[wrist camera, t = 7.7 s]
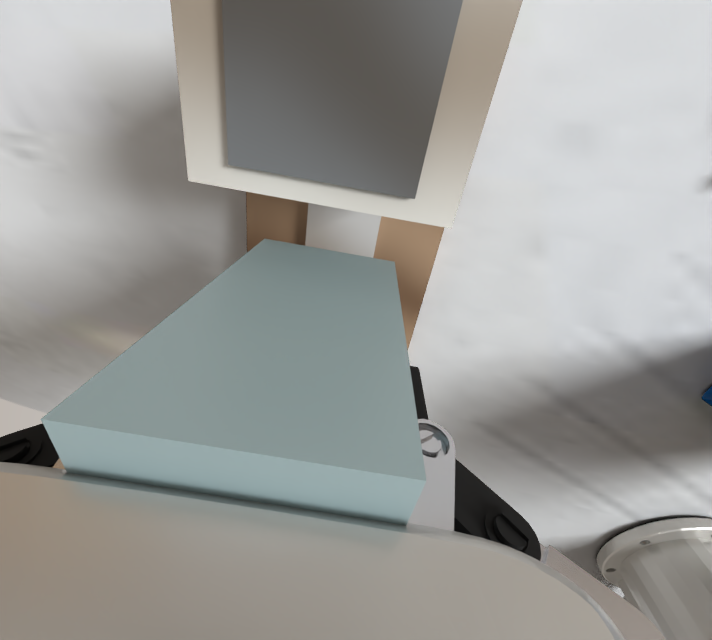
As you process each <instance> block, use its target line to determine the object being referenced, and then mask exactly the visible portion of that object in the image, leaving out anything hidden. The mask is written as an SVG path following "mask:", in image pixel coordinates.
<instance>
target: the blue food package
mask: <svg viewBox="0 0 712 640" xmlns="http://www.w3.org/2000/svg"><path fill="white" fill-rule="evenodd" d="M702 399H703V400H704V401H705V402H707V403H708V404H709V405H710V406H712V386H711V387H710V388H709V389H708V390H707V391H706V392H705V393H704V395H703V396H702Z"/></svg>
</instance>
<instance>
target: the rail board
mask: <svg viewBox="0 0 712 640" xmlns="http://www.w3.org/2000/svg"><path fill="white" fill-rule="evenodd" d="M522 1H523V0H170V2H171V12H172V22H173V32H174V42H175V52H176V62H177V73H178V83H179V93H180V103H181V113H182V123H183V133H184V143H185V154H186V164H187V174H188V181H191V182H196V183H202V184H207V185H213V186H218V187H224V188H229V189H235V190H240V191H246V213H247V252H249V251H250V250H251V249H252V248H254V247H255V246H256V245H257V244H259V243H260V242H261V241H262V240H264V239H270V240H275V241H281V242H287V243H292V244H298V245H303V246H309V247H315V248H320V249H326V250H331V251H337V252H343V253H348V254H354V255H359V256H365V257H371V258H376V259H382V260H388V261H393V262H395V268H396V275H397V281H398V288H399V295H400V302H401V309H402V316H403V323H404V330H405V336H406V343H407V350H408V347H409V344H410V341H411V337H412V334H413V331H414V327H415V324H416V321H417V317H418V314H419V311H420V307H421V304H422V301H423V297H424V294H425V291H426V287H427V284H428V281H429V277H430V274H431V271H432V267H433V264H434V261H435V257H436V254H437V251H438V247H439V244H440V241H441V237H442V234H443V231H444V228H450V229H452V226H453V222H454V219H455V216H456V213H457V210H458V206H459V203H460V200H461V197H462V194H463V190H464V187H465V184H466V181H467V177H468V174H469V171H470V168H471V165H472V161H473V158H474V155H475V152H476V149H477V145H478V142H479V139H480V136H481V133H482V129H483V126H484V123H485V120H486V116H487V113H488V110H489V107H490V104H491V100H492V97H493V94H494V91H495V88H496V84H497V81H498V78H499V75H500V72H501V68H502V65H503V62H504V59H505V55H506V52H507V49H508V46H509V43H510V39H511V36H512V33H513V30H514V27H515V23H516V20H517V17H518V14H519V11H520V7H521V4H522Z"/></svg>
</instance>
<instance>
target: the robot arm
mask: <svg viewBox="0 0 712 640" xmlns="http://www.w3.org/2000/svg"><path fill="white" fill-rule="evenodd" d="M410 371H411V378H412V385H413V391H414V398H415V405H416V412H417V419H418V426H419V433H420V440H421V447H422V453H423V460H424V467H425V474H426V483H425V485H424V488H423V490H422V492H421V494H420V496H419V499H418V501H417V503H416V505H415V507H414V510H413V512H412V514H411V516H410V518H409V521H408V523H407V525H400V524H394V523H388V522H381V521H375V520H369V519H363V518H356V517H350V516H344V515H338V514H332V513H325V512H319V511H313V510H306V509H300V508H293V507H287V506H280V505H274V504H268V503H261V502H255V501H248V500H242V499H236V498H229V497H223V496H216V495H210V494H204V493H197V492H191V491H184V490H178V489H172V488H165V487H159V486H152V485H146V484H139V483H133V482H126V481H119V480H113V479H106V478H100V477H93V476H86V475H80V474H73V473H67V472H66V470H65V468H64V466H63V464H62V462H61V459H60V457H59V455H58V453H57V451H56V449H55V447H54V445H53V443H52V441H51V439H50V437H49V435H48V433H47V431H46V429H45V427H44V425H43V424H39V425H36V426H33V427H30V428H27V429H24V430H20V431H17V432H14V433H11V434H8V435H5V436H3V437H0V640H712V519H709V518H696V517H692V518H674V519H666V520H660V521H656V522H651V523H647V524H644V525H640V526H637V527H634V528H632V529H629V530H627V531H625V532H623V533H621V534H619V535H617V536H615V537H614V538H612V539H611V540H610V541H608V542H607V543H606V544H605V545H604V546H603V547H602V548H601V549H600V551H599V553H598V555H597V564H598V567H599V569H600V571H601V573H602V575H603V576H604V578H605V579H606V580H607V581H608V582H610V583H611V584H613V585H615V586H617V587H619V588H621V590H622V592H623V593H624V595H625V596H624V597H623V598H622V597H621V596H619V595H618V594H616V593H615V592H614V591H612V590H611V589H610V588H608V587H607V586H605V585H604V584H603V583H601V582H600V581H599V580H597V579H596V578H595V577H593V576H592V575H590V574H589V573H588V572H586V571H585V570H584V569H582V568H581V567H580V566H578V565H577V564H575V563H574V562H573V561H571V560H570V559H569V558H567V557H566V556H564V555H563V554H562V553H560V552H559V551H558V550H556V549H555V548H554V547H552V546H551V545H549V546H548V547H547V548H546V547H544V546H543V545H542V544H540V543H539V541H538V538H537V536H536V534H535V532H534V531H533V529H532V528H531V526H530V525H529V523H528V522H527V521H526V520H525V519H524V518H523V517H522V516H521V515H520V514H519V513H518V512H516V511H515V510H514V509H513V508H512V507H511V506H509V505H508V504H507V503H506V502H505V501H504V500H503V499H501V498H500V497H499V496H498V495H497V494H496V493H494V492H493V491H492V490H491V489H490V488H489V487H488V486H486V485H485V484H484V483H483V482H482V481H481V480H480V479H478V478H477V477H476V476H475V475H474V474H473V473H471V472H470V471H469V470H468V469H467V468H466V467H465V466H463V465H462V464H461V463H460V462H459V461H458V460H456V459H455V450H456V449H455V443H454V440H453V438H452V436H451V435H450V434H449V432H448V431H447V430H446V429H445V428H443V427H442V426H441V425H439V424H438V423H435V422H433V421H431V420H428V415H427V410H426V405H425V399H424V394H423V388H422V383H421V377H420V372H419V368H418V367H413V366H410Z"/></svg>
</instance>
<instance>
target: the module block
mask: <svg viewBox="0 0 712 640" xmlns="http://www.w3.org/2000/svg"><path fill="white" fill-rule="evenodd" d="M41 420H42V423H43V425H44V427H45V429H46V431H47V433H48V435H49V437H50V439H51V441H52V443H53V445H54V447H55V449H56V451H57V453H58V455H59V457H60V459H61V462H62V464H63V466H64V468H65V470H66V472H67V473H73V474H80V475H86V476H93V477H100V478H106V479H113V480H119V481H126V482H133V483H139V484H146V485H152V486H159V487H165V488H172V489H178V490H184V491H191V492H197V493H204V494H210V495H216V496H223V497H229V498H236V499H242V500H248V501H255V502H261V503H268V504H274V505H280V506H287V507H293V508H300V509H306V510H313V511H319V512H325V513H332V514H338V515H344V516H350V517H356V518H363V519H369V520H375V521H381V522H388V523H394V524H400V525H407V523H408V521H409V518H410V516H411V514H412V512H413V510H414V507H415V505H416V503H417V501H418V499H419V496H420V494H421V492H422V490H423V488H424V485H425V483H426V474H425V467H424V460H423V453H422V447H421V440H420V433H419V426H418V419H417V412H416V405H415V398H414V391H413V385H412V378H411V371H410V364H409V357H408V350H407V343H406V336H405V330H404V323H403V316H402V309H401V302H400V295H399V288H398V281H397V275H396V268H395V262H393V261H388V260H382V259H376V258H371V257H365V256H359V255H354V254H348V253H343V252H337V251H331V250H326V249H320V248H315V247H309V246H303V245H298V244H292V243H287V242H281V241H275V240H270V239H264V240H262V241H261V242H260V243H259V244H257V245H256V246H255V247H254V248H252V249H251V250H250V251H249V252H247V253H246V254H245V255H244V256H242V257H241V258H240V259H239V260H238V261H236V262H235V263H234V264H233V265H231V266H230V267H229V268H228V269H226V270H225V271H224V272H223V273H221V274H220V275H219V276H218V277H216V278H215V279H214V280H213V281H212V282H210V283H209V284H208V285H207V286H205V287H204V288H203V289H202V290H200V291H199V292H198V293H197V294H195V295H194V296H193V297H192V298H190V299H189V300H188V301H187V302H185V303H184V304H183V305H182V306H181V307H179V308H178V309H177V310H176V311H174V312H173V313H172V314H171V315H169V316H168V317H167V318H166V319H164V320H163V321H162V322H161V323H159V324H158V325H157V326H156V327H154V328H153V329H152V330H151V331H150V332H148V333H147V334H146V335H145V336H143V337H142V338H141V339H140V340H138V341H137V342H136V343H135V344H133V345H132V346H131V347H130V348H128V349H127V350H126V351H125V352H123V353H122V354H121V355H120V356H119V357H117V358H116V359H115V360H114V361H112V362H111V363H110V364H109V365H107V366H106V367H105V368H104V369H102V370H101V371H100V372H99V373H97V374H96V375H95V376H94V377H92V378H91V379H90V380H89V381H88V382H86V383H85V384H84V385H83V386H81V387H80V388H79V389H78V390H76V391H75V392H74V393H73V394H71V395H70V396H69V397H68V398H66V399H65V400H64V401H63V402H62V403H60V404H59V405H58V406H57V407H55V408H54V409H53V410H52V411H50V412H49V413H48V414H47V415H45V416H44V417H43V418H42V419H41Z"/></svg>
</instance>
